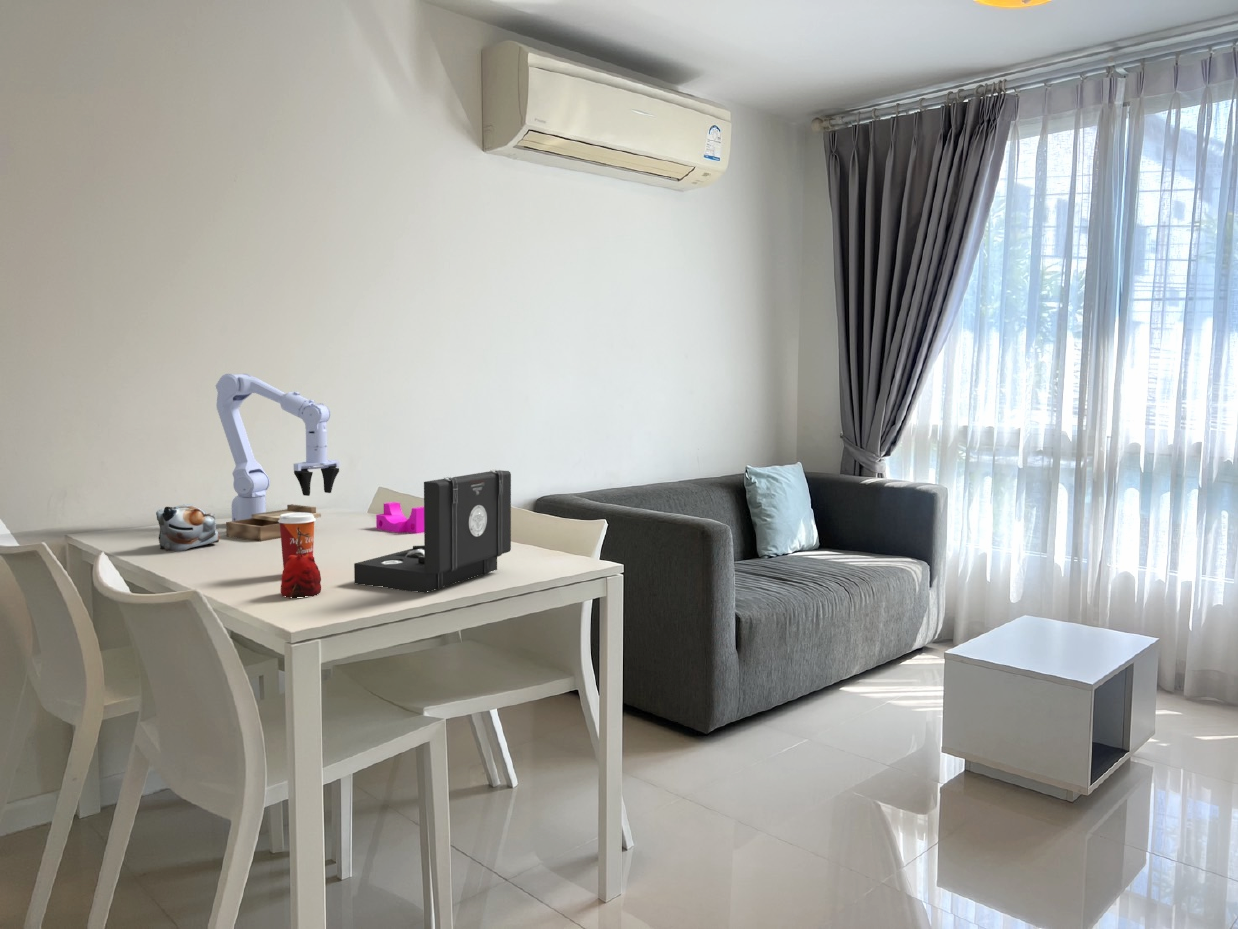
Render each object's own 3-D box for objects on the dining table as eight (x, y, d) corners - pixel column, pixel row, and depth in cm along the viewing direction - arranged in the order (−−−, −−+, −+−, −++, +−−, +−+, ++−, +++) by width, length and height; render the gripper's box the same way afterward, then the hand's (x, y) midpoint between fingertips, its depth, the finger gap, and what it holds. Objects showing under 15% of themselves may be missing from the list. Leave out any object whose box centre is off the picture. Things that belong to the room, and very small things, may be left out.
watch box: (412, 564, 215) (410, 461, 213) (512, 577, 203) (512, 468, 200) (333, 586, 192) (331, 471, 190) (441, 602, 180) (440, 479, 177)
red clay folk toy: (323, 594, 184) (322, 521, 182) (318, 603, 177) (316, 526, 175) (284, 595, 182) (282, 521, 181) (276, 604, 176) (275, 527, 174)
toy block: (376, 530, 260) (376, 504, 259) (394, 527, 265) (394, 502, 264) (409, 536, 250) (408, 509, 250) (427, 534, 255) (427, 507, 254)
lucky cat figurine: (229, 538, 237) (224, 491, 231) (211, 564, 226) (205, 516, 220) (170, 533, 236) (163, 486, 230) (149, 559, 226) (141, 510, 219)
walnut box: (226, 536, 246) (226, 522, 245) (264, 530, 256) (263, 516, 256) (260, 542, 239) (260, 527, 238) (298, 535, 249) (297, 521, 248)
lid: (251, 518, 252) (251, 508, 252) (287, 512, 262) (287, 503, 262) (285, 522, 245) (285, 513, 245) (321, 517, 255) (320, 507, 255)
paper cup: (295, 584, 192) (293, 518, 191) (271, 579, 196) (270, 515, 195) (325, 577, 199) (323, 513, 197) (301, 573, 203) (300, 510, 201)
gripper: (305, 448, 251) (305, 497, 252) (346, 445, 263) (346, 492, 265) (288, 447, 255) (289, 495, 256) (329, 444, 267) (330, 490, 268)
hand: (317, 494), depth 261 cm, fingers open, 7 cm apart
